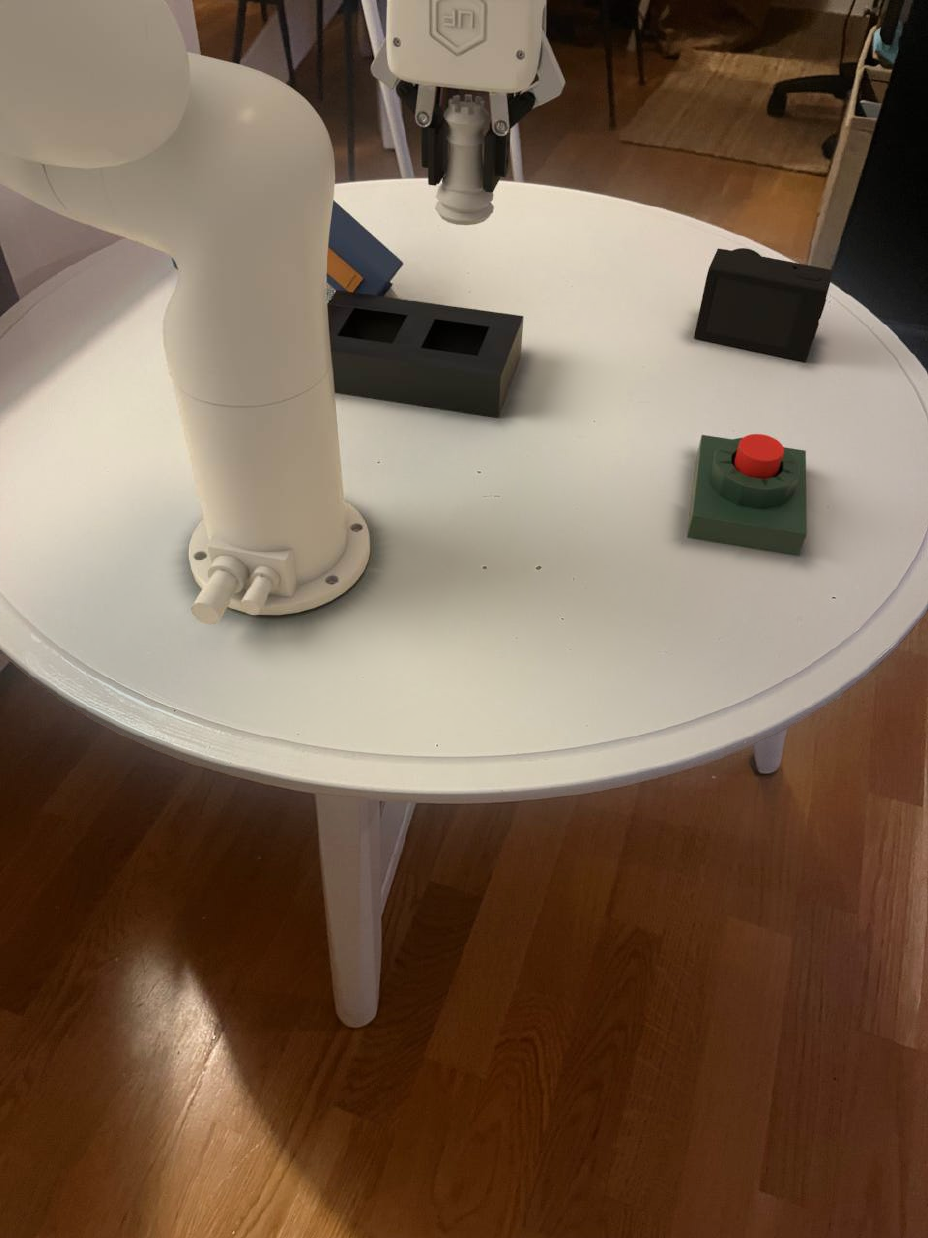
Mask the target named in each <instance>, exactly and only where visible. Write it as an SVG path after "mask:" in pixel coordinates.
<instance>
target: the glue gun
mask: <svg viewBox="0 0 928 1238" xmlns="http://www.w3.org/2000/svg"><path fill="white" fill-rule="evenodd" d="M170 258H171V261H172V264H173V267H174V268H175V269H176V270H177V271H178V268H177V265H176V263H175V261H174V260H173V258H172V257H171V256H170ZM403 266H404V262H403V260H401V259H400V258H399V257H398V256H397V255H396V254H395V253H394V252H392V251H391V250H390V249H389V248H388V247H387V246H385V245H384V243H382V242H381V241H380V240H379V238H377V237H376V236H374V235H373V234H372V233H371V232H370V231H369V230H368V229H367V228H366V227H364V225H362V224H361V223H360V222H359V221H358V220H357V219H356V218H354V217H353V216H352V215H351V214H350V213H349V212H348V211H347V210H346V209H344V208H343V207H342V206H341V205H340V204H339V203H338V202H336V201H335V200H334V199H333V207H332V215H331V223H330V231H329V242H328V253H327V285H329V286H330V287H331V288H332V289H333V290H334V291H336V290H339V291H347V292H354V293H361V294H368V295H375V296H383V297H390V298H397V299H401V297H400V296H399V295H398V293H397V292H396V291H395V290H394V289H393V288H392V287H393V285H394V283H392V282H391V281H392V280H393V279H394V277H395V276H396V275H397V274H398V272H399V271H400V269H402V267H403Z"/></svg>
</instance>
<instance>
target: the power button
mask: <svg viewBox="0 0 928 1238" xmlns="http://www.w3.org/2000/svg"><path fill="white" fill-rule="evenodd" d="M743 437H744V438H743ZM743 437H741V438H742V439H741V441H740V443H739V446H738V450H737V453H736V457H735V461H734V465H735V468H736V469H737V470H738V471H739V472H741V473H743V474H745V475H747V476H749V477H753V478H760V479H767V478H772V477H774V476H775V475H776V474H777V473H778V470H779V467H780V464H781V461H782V458H783V454H784V448H783V447H784V446H783V444H782V443H781V442H780V440H777V438H774V437H773V436H769V435H767V434H762V433H761V434H759V433H753V434H748V435H745V436H743Z"/></svg>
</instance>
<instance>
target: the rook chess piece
mask: <svg viewBox="0 0 928 1238" xmlns="http://www.w3.org/2000/svg"><path fill="white" fill-rule="evenodd" d="M485 103H486V100H483V97H481V96H479V95H477V96H475V99H474V101H473V94H469V93H468V94H467V93H466V94H464V101H461V96H460V95H459V94H456V95H452V98H449V99H448V107H447V108H446V110H444V111H443V113H444V115H443V116H444V118H445V120H446V121H447V123H448V128H449V131H448V135H447V137H446V139H447V140H448V164H447V171H446V173H445V175H444V176H443V178H442V180H441V183H440V184H439V186H438V188H437V191H436V194H435V198H436V199H437V202H436V203H435V207H434V209H435V211H436V212H437V214H438V215H439V217H440V218H441V220H443V221H445V222H447V223H449V224H453V225H457V226H472V225H473V226H475V225H478V224H481V223H484V222H485V221H486V220H488V219H489V218H490V216H491V215H492V214H493V213H494V209H495V206H494V204H493V203H492V202H493V200H494V192H493V193H491V192H485V190H483V168H484V154H483V145H484V140H485V134H484V132H483V128H484V127H485V125H486V124H487V122H488V120H489V119H490V113H489V112H488V111H487V109H486V107H485Z"/></svg>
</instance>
